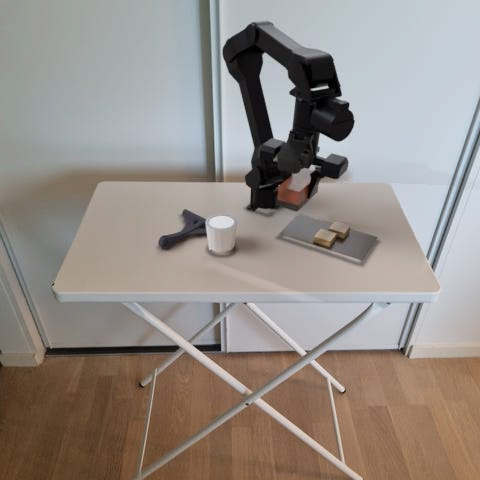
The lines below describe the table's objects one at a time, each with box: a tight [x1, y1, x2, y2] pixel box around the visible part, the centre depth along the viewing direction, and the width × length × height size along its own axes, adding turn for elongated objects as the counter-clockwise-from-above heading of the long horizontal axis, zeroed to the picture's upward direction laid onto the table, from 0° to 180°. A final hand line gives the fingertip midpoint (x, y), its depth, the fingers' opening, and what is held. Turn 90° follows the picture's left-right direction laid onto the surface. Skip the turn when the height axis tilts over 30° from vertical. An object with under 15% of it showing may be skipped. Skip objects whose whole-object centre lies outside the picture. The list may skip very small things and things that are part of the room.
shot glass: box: [205, 213, 238, 253], centre depth 101 cm, size 7×7×7 cm
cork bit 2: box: [328, 220, 352, 239], centre depth 107 cm, size 4×4×2 cm
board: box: [279, 213, 378, 261], centre depth 107 cm, size 20×11×1 cm, turn 60°
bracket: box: [157, 208, 207, 250], centre depth 106 cm, size 14×15×3 cm
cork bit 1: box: [313, 229, 337, 247], centre depth 105 cm, size 4×4×2 cm
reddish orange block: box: [277, 168, 320, 213], centre depth 103 cm, size 5×11×5 cm, turn 149°
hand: (298, 194), depth 104 cm, fingers closed on reddish orange block, 5 cm apart
